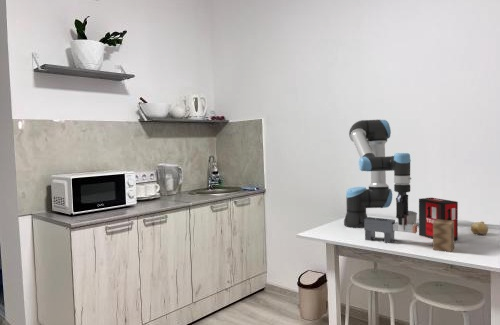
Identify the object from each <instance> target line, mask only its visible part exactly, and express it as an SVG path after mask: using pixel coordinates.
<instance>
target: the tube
mask: <svg viewBox="0 0 500 325" xmlns="http://www.w3.org/2000/svg"><path fill="white" fill-rule="evenodd" d="M403 218H404V231H400V232H402V233H410V234H416V233H417V232H418V225H417V224H413V225H412V224H407V214H403ZM392 231H395V232H399V231H398V222H395V223H392Z"/></svg>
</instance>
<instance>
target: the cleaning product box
mask: <svg viewBox="0 0 500 325" xmlns="http://www.w3.org/2000/svg"><path fill="white" fill-rule="evenodd" d="M458 203H459V202H458V201H456V200H449V199H443V198H435V197H425V198H418V232H419V233H418V236H420V237H424V238H427V239H431V240H433V222H434V221H435V220H437V219H441V220H451V221H454V242H457V241H458V240H459V239H458V237H459V236H458V234H459V233H458V232H459V231H458V227H459V226H458V222H459V220H458V217H459V216H458V214H459V212H458V208H459V207H458V206H459V204H458Z"/></svg>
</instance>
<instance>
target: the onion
mask: <svg viewBox="0 0 500 325" xmlns="http://www.w3.org/2000/svg"><path fill="white" fill-rule="evenodd" d="M470 230H471V232H472V233H473V234H474V235H477V236H479V235H482V236H484V235H486V234H488V233H489V227H488V225H487V224H486V223H485V222H484V221H480V222H473V223H472V225H470Z"/></svg>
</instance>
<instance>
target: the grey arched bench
mask: <svg viewBox="0 0 500 325" xmlns="http://www.w3.org/2000/svg"><path fill="white" fill-rule="evenodd" d="M392 223H396V219H393V218H391V219H390V218H382V217H371V216H367V218H365V219H364V227H363V228H364V241H370V242H371V241H373V240H374V239H376V232H377V233H383V238H384V240H383V242H384V244H385V243H386V244H391V243H393V242H394V241H395V232H396V231H392Z"/></svg>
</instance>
